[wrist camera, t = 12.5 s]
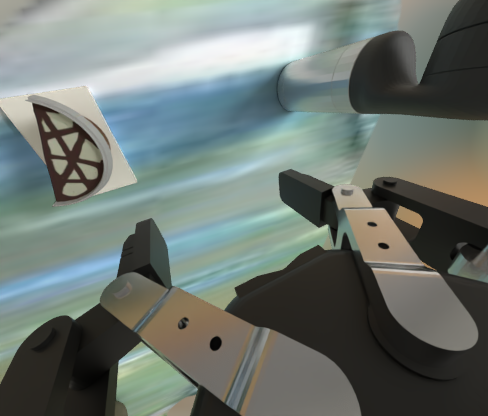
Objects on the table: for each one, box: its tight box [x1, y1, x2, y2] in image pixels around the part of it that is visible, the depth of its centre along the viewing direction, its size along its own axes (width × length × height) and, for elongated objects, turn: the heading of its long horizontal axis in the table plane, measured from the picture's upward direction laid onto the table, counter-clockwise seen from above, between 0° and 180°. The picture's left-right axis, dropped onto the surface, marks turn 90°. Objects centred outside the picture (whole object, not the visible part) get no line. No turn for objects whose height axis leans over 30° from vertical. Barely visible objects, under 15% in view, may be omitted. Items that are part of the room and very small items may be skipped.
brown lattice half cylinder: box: [25, 95, 113, 207], centre depth 25 cm, size 12×6×10 cm, turn 168°
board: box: [0, 86, 137, 196], centre depth 29 cm, size 10×15×1 cm, turn 10°
